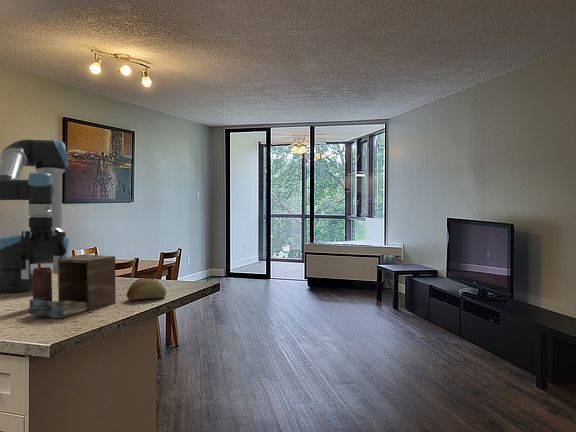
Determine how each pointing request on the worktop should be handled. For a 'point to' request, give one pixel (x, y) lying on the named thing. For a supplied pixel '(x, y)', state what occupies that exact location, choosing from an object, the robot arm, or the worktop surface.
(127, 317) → the worktop surface
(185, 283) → the worktop surface
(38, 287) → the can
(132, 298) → the bread roll
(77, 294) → the box
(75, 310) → the tray
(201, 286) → the worktop surface
